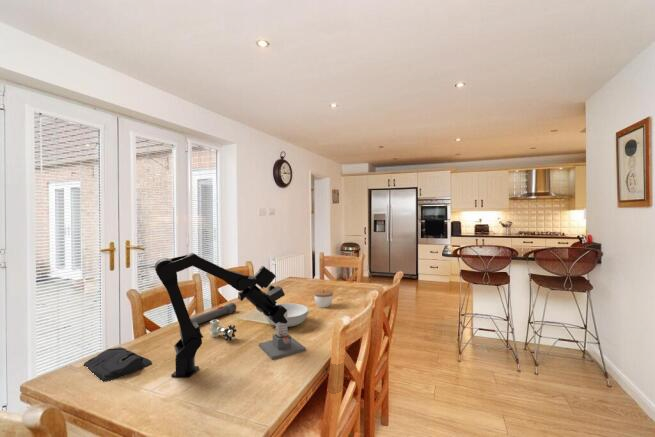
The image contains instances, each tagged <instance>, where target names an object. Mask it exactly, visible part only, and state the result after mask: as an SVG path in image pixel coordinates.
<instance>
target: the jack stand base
mask: <svg viewBox="0 0 655 437" xmlns="http://www.w3.org/2000/svg"><path fill="white" fill-rule="evenodd" d="M258 346H259V348H260V349H261V350H262V351H263V352H264V353H265V355H267V356H268V357H269V358H270V359H271V360H275V359H279V358H283V357H287V356H291V355H293V354H297V353H300V352H305V351H306V350H307V348H306V347H305V346H304V345H303V344H302V343H300V342H299V341H297V340H296V339H295V338H294V337H292V335H290V334H289V333H288V336H287V337H283V338H278V337H276V333H274V334H272V339H271V340H267V341H263V342H259V343H258Z"/></svg>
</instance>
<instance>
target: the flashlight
mask: <svg viewBox="0 0 655 437" xmlns="http://www.w3.org/2000/svg"><path fill="white" fill-rule="evenodd" d="M236 311H237V305H236V303H234V302H230V303H227V304H225V305H224V306H219V307H217V308H216V309H213V310H212V309H211V310H210V311H206V312H204V313H201V314H199V315H195V316H193V317H190V320H191V322H192V323H195V322H197V323H198V325H201V324H202V323H205V322H207V321H212V320H215V319H216V318H218V317H221V316H224V315H226V314H227V315H228V314H232V313H234V312H236Z"/></svg>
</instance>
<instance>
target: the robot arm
mask: <svg viewBox="0 0 655 437" xmlns="http://www.w3.org/2000/svg"><path fill="white" fill-rule="evenodd" d="M191 267H195V268H196V269H199V270H201V271H203V272H204V273H205V272H206V273H208V274H209V275H212V276H214V277H216V278H218V279H220V280H222V281H224V282H225V283H227V284H228V285H229V286H231V287H232V288H233V289H234V290H236V291H237V292H238V293H237V295H238V297H237V298H238V300H239V301H240V302H243V300H245V299H246V300H248V302H250V303H251V304H252V305H253V306H254V307H255V310H257V311H259V312H260V313H263V314H262V315H264V316H268V317H269V319H270V320H272V321H273V322H274V323H275V324H277V323H278V322H280V323H284V324H286V323H287V322H288V321H287V320H286V318H285V317H284V314H285V313H286V312H287V309H285V308H284V307H283V306H281V305H277V300H279V299H281V298H282V297H285V295H286V293H285V292H284V290H283V288H282V287H281V286H279V285H276V286H274V285H272V284H271V283H272V282H273V281H274V280H275V279H276V278H277V276H276V274H275V273H274V272H272V271H271V270H270V269H268V268H266V267H265V265H261V266H260V267H259V269H258V271H257V272H256V273H255V274H254V275H253V276H252V275H245V274H243V273H241V272H238V271H234V270H230V269H226V268H224V267H221V266H220V265H217V264H215V263H213V262H212V261H209V260H208V259H206V258H203V257H201V256H199V255H198V254H196V253H194V252H189V253H188V254H185V255H180V256H176V257H171V258H167V257H164V258H160V259H158V260H157V261H156V262H155V265H154V270H155V274H156V275H157V277H158V278H159V280H160V282H161V283H162V285H163V286H164V288H165V290H166V293H167V294H168V295H167V296H168V297H169V301H170V303H171V306H172V309H173V312H174V313H175V316H176V319H177V322H178V325H179V326H178V327H179V336H180V338H179V340H178V341H177V342H176V343H175V344H174V346H173V347H174V351H175V354H176V355H175V370H174V371H173V373H171V375H170V376H171V377H172V378H173V377H175V378H179V377H180V378H191V377H192V376H193V375H194V374H195V372H197V371H198V369H200V366H198V365H195V364H196V363H195V362H196V361H195V359H196V358H195V357H196V355H197V354H196V353H197V351H198V350H199V348H200V347H201V346H202V344H203V340H202V339H203V338H204V336H203V334H202V332H201V327H200V324H198V323H197V322H195V323H192V322H191V320H190V318H191V317H190V314H189V311H188V309H187V306H186V304H185V301H184V298H183V295H182V293H181V289H180V287H179V281H178V280H179V279H178V273H179V272H182V271H184V270H186V269H188V268H191ZM259 287H260V288H259ZM263 288H264V289H266V288H268V291H267V292H264V290H262V289H263Z"/></svg>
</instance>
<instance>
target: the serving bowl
mask: <svg viewBox="0 0 655 437" xmlns="http://www.w3.org/2000/svg"><path fill="white" fill-rule="evenodd" d="M276 305H281V306H283V307H285V308H287V321H288V322H287V324H288V327H289V328H290V327H295V326H298V325H300V324H302V323H303V322H304V321H305V320H306V319H307V317H308V314H309V308H308V307H307V306H306V305H303V304H301V303H292V302H290V303H278V304H277V303H276ZM264 316H265V315H264ZM265 319H266V321H267V322H268V323H270V324H271V325H272V326H275V327H276V324H275V323H274V322H273V321H272V320H270V319H269V317H268V316H265Z"/></svg>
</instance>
